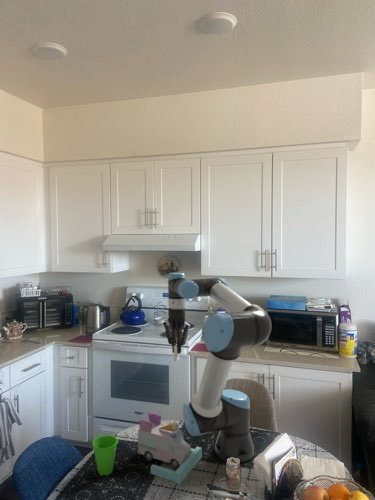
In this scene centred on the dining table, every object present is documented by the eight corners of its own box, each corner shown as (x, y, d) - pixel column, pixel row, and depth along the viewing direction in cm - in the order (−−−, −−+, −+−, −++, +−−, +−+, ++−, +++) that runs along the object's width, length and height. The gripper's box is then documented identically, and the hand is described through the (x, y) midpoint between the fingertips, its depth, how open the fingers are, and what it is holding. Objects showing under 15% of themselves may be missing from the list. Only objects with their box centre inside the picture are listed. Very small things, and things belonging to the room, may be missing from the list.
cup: (90, 467, 138) (90, 437, 137) (115, 461, 141) (115, 432, 141) (94, 481, 129) (94, 450, 129) (120, 475, 133) (120, 445, 132)
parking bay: (201, 456, 144) (201, 447, 144) (179, 484, 128) (179, 474, 128) (174, 448, 149) (174, 440, 149) (149, 474, 133) (149, 464, 133)
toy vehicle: (181, 473, 134) (181, 432, 133) (136, 458, 143) (135, 420, 142) (192, 459, 142) (192, 420, 142) (149, 446, 151) (149, 410, 150)
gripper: (159, 307, 166) (159, 360, 167) (186, 310, 160) (186, 365, 161) (168, 305, 173) (168, 355, 173) (193, 307, 167) (193, 359, 168)
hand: (176, 360), depth 167 cm, fingers closed
